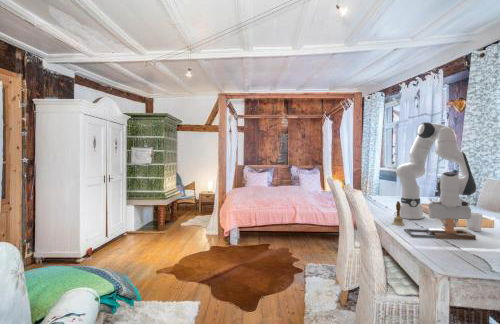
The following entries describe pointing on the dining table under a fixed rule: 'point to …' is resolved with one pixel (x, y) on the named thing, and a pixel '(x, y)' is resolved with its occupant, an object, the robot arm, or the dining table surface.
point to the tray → (418, 231)
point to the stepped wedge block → (450, 226)
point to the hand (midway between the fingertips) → (449, 226)
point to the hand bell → (398, 216)
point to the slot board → (456, 235)
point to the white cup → (474, 222)
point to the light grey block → (441, 230)
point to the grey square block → (431, 231)
